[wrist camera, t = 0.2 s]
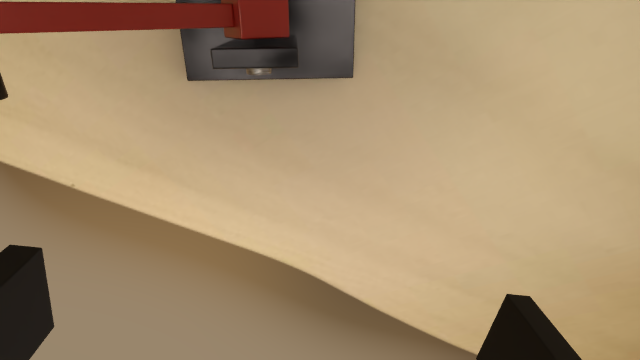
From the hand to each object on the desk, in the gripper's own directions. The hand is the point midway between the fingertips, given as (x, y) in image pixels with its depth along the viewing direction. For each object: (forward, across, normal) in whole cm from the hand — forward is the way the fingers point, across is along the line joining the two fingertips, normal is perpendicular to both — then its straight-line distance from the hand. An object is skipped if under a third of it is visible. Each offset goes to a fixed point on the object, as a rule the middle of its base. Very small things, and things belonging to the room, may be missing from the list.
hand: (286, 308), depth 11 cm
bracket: (+25, -3, +7) cm, 27 cm away
